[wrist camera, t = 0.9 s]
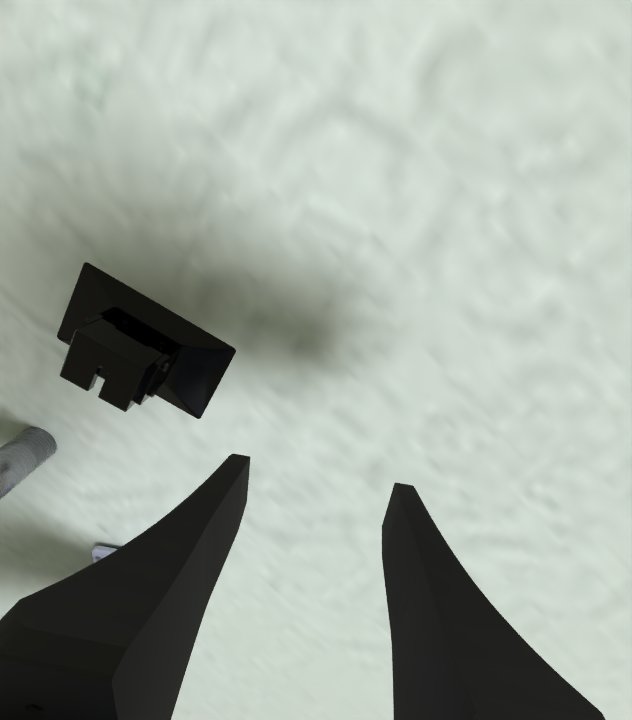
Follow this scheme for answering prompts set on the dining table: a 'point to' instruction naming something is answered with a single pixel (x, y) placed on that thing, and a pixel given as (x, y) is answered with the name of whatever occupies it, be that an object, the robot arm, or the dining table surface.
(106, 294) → the build plate
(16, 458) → the pin
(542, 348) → the dining table surface
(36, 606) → the robot arm
